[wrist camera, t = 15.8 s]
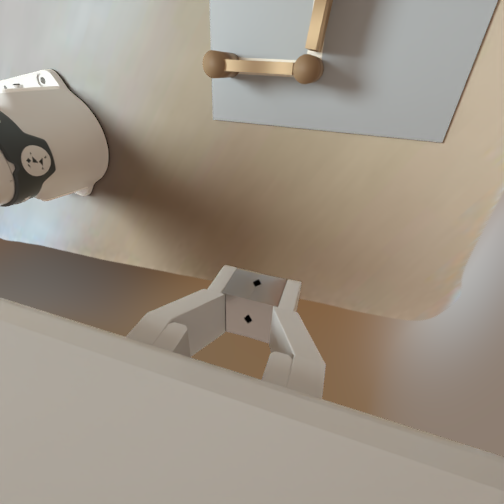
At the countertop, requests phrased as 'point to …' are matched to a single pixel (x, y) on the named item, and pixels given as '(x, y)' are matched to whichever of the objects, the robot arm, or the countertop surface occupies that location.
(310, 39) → the rail
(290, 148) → the countertop surface
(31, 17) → the countertop surface
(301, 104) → the card
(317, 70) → the fixed rail
